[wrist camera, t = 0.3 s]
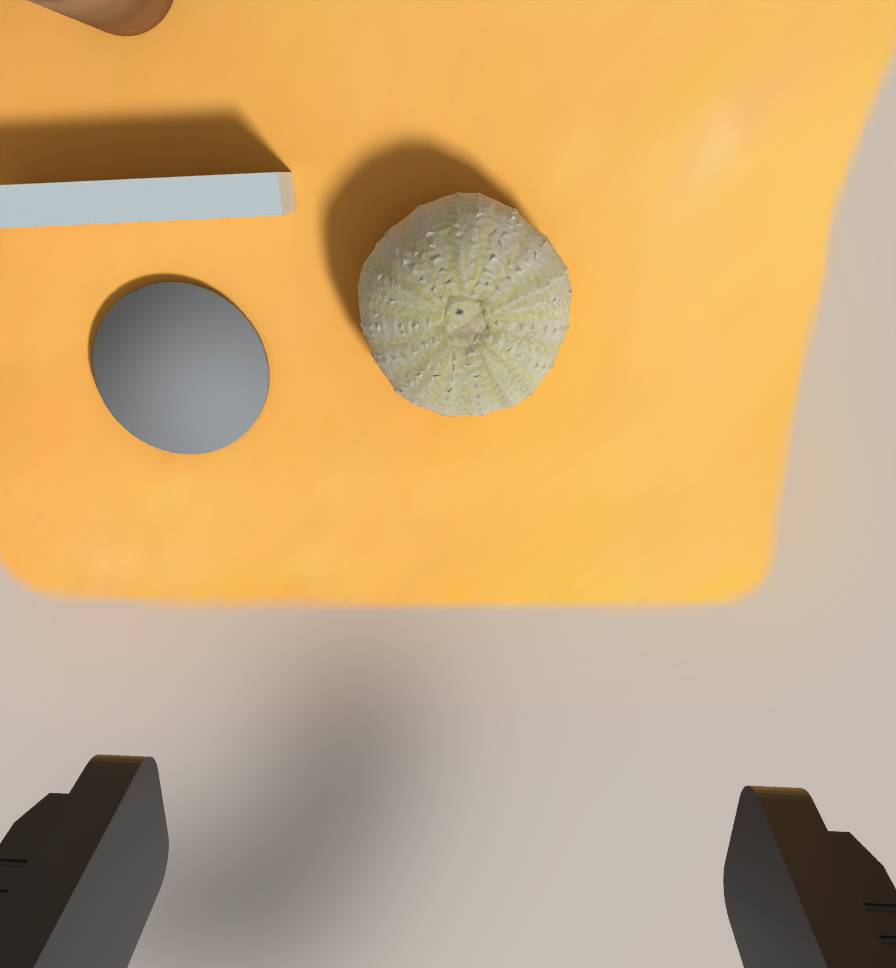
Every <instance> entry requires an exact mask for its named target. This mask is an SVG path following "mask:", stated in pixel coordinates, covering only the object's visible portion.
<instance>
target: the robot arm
mask: <svg viewBox="0 0 896 968" xmlns="http://www.w3.org/2000/svg"><path fill="white" fill-rule="evenodd" d="M168 849H169V839H168V831H167V825H166V818H165V812H164V806H163V799H162V793H161V787H160V780H159V774H158V768H157V764H156V761H155V760H154V759H153V758H152V757H142V756H141V757H140V756H120V755H96V756H94V757H93V758H92V759H91V760H90V761H89V762H88V764H87V765H86V767H85V768H84V770H83V772H82V773H81V775H80V777H79V778H78V780H77V782H76V783H75V785H74V787H73V788H72V790H71V791H70V793H69V794H61V793H49V794H48V795H47V796H45V797H44V798H43V799H42V800H41V801H39V802H38V803H37V804H36V805H35V806H34V807H32V808H31V809H30V810H29V811H27V812H26V813H25V814H24V815H23V816H22V817H20V818H19V819H18V820H17V821H16V822H14V824H13V825H12V827H11V828H10V830H9V831H8V833H7V834H6V836H5V837H4V839H3V840H2V842H1V843H0V968H127V967H128V964H129V962H130V960H131V957H132V955H133V952H134V950H135V947H136V945H137V943H138V940H139V938H140V936H141V933H142V931H143V928H144V926H145V924H146V921H147V919H148V916H149V914H150V911H151V909H152V907H153V904H154V902H155V899H156V897H157V895H158V892H159V890H160V887H161V885H162V882H163V878H164V874H165V870H166V866H167V859H168ZM723 882H724V897H725V904H726V909H727V914H728V917H729V921H730V924H731V927H732V930H733V934H734V937H735V940H736V943H737V947H738V950H739V953H740V956H741V959H742V962H743V966H744V968H896V889H895V887H894V885H893V883H892V881H891V880H890V878H889V876H888V874H887V872H886V870H885V868H884V866H883V865H882V864H881V863H880V862H879V861H878V860H877V859H876V858H875V857H874V856H873V855H872V854H871V853H870V852H869V851H868V850H867V849H866V848H865V847H864V846H863V845H862V844H861V843H860V842H859V841H858V840H857V839H856V838H854V836H853V835H852V834H851V833H850V832H836V831H828V830H827V828H826V826H825V824H824V822H823V820H822V818H821V816H820V814H819V812H818V810H817V808H816V806H815V804H814V802H813V800H812V798H811V796H810V795H809V793H808V792H807V791H806V790H805V789H802V788H787V787H763V786H745V787H744V788H743V790H742V792H741V795H740V799H739V803H738V807H737V812H736V816H735V821H734V825H733V830H732V834H731V838H730V843H729V848H728V852H727V856H726V861H725V866H724V879H723Z"/></svg>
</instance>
